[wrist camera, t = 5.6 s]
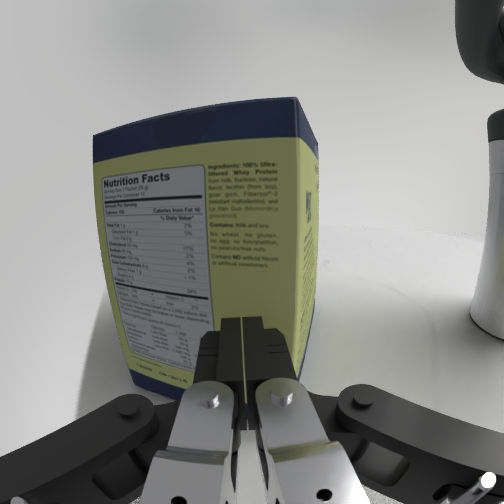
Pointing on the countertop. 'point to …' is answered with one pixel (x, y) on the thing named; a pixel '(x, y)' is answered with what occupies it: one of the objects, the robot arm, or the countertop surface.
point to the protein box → (207, 230)
